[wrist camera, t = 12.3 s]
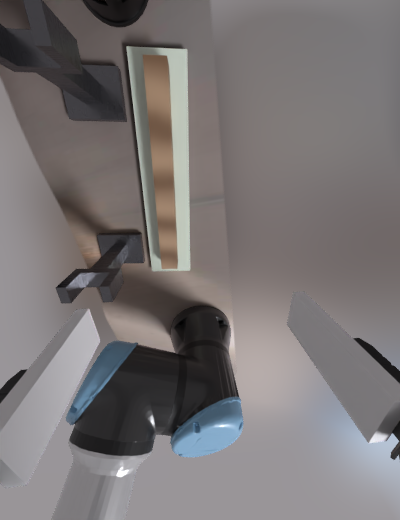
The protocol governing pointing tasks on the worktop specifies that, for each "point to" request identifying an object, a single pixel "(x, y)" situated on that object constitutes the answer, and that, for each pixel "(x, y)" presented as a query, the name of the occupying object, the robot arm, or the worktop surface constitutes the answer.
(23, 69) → the rack
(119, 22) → the french press
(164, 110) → the rail
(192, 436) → the robot arm
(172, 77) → the board
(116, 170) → the worktop surface
